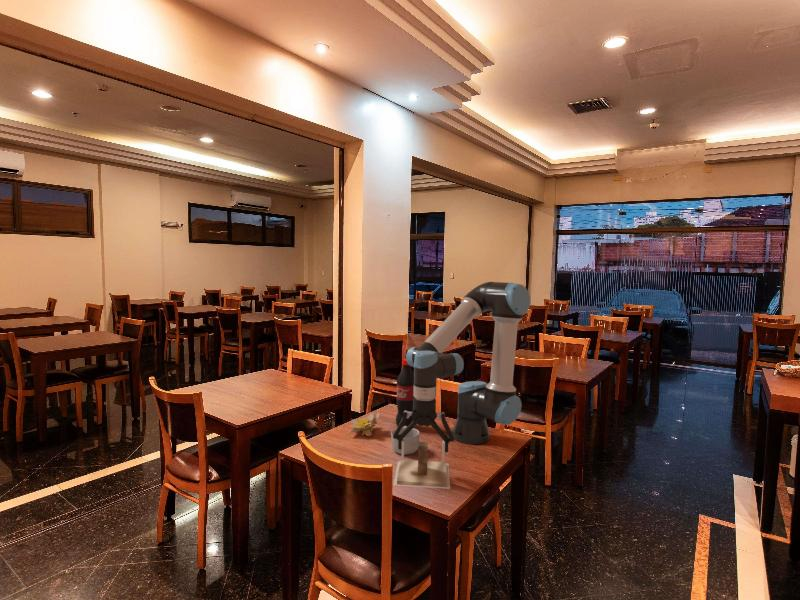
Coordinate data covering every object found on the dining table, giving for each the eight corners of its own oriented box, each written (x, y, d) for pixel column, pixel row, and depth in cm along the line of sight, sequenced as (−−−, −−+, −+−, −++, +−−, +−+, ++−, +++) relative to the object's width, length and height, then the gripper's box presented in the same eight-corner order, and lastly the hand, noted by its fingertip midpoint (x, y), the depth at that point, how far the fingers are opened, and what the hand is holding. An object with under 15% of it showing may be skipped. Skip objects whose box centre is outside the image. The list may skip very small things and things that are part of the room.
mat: (448, 465, 163) (448, 463, 163) (450, 490, 145) (450, 488, 145) (397, 462, 164) (398, 461, 164) (393, 487, 146) (393, 485, 146)
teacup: (416, 459, 167) (417, 438, 166) (387, 456, 169) (387, 435, 169) (422, 445, 181) (422, 425, 180) (395, 442, 183) (395, 422, 182)
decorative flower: (352, 420, 202) (358, 399, 200) (377, 427, 201) (382, 407, 199) (344, 435, 187) (350, 413, 185) (370, 443, 186) (376, 421, 184)
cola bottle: (397, 423, 205) (398, 356, 202) (416, 424, 204) (417, 357, 201) (394, 429, 196) (395, 360, 194) (413, 431, 195) (415, 361, 193)
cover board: (445, 464, 162) (446, 437, 161) (446, 486, 146) (447, 456, 145) (400, 462, 163) (401, 435, 162) (396, 483, 147) (397, 453, 146)
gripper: (386, 399, 150) (384, 462, 151) (463, 403, 148) (460, 466, 149) (388, 392, 157) (387, 453, 159) (461, 396, 155) (459, 457, 157)
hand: (422, 459), depth 154 cm, fingers open, 13 cm apart
